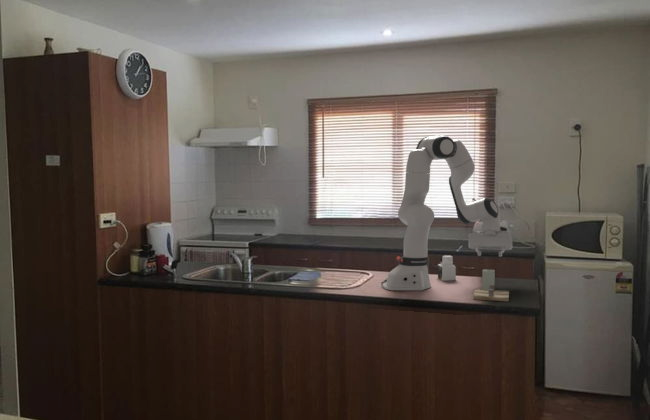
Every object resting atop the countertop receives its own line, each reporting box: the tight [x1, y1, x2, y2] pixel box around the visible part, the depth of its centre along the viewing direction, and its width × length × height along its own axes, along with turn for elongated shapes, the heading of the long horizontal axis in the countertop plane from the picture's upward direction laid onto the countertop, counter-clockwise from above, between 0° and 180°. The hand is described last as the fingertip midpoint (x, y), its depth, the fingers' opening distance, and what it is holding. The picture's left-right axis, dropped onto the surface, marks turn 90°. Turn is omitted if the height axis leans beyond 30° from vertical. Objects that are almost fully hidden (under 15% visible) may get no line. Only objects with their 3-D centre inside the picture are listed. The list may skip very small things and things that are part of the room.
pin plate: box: [473, 284, 510, 302], centre depth 238 cm, size 14×14×4 cm
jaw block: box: [481, 268, 496, 290], centre depth 251 cm, size 5×5×9 cm
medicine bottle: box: [437, 254, 457, 282], centre depth 278 cm, size 7×7×12 cm
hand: (489, 255), depth 262 cm, fingers open, 8 cm apart
